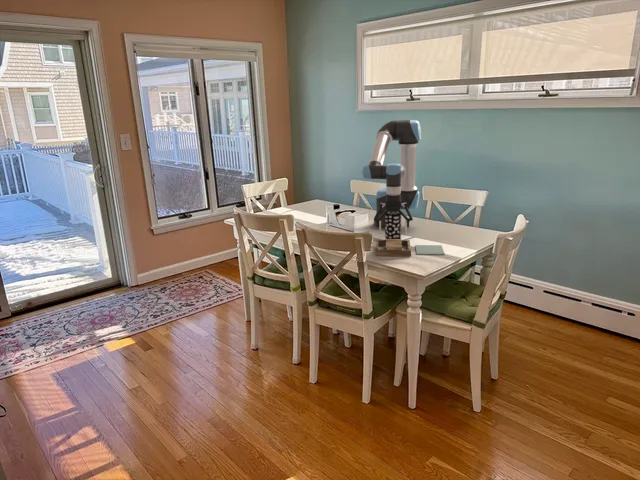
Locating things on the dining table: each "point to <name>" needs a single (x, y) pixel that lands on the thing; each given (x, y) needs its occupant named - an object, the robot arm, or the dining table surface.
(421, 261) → the dining table surface
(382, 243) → the rack
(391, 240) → the offcut
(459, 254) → the dining table surface
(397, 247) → the offcut
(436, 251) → the mat
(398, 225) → the spotted tube
